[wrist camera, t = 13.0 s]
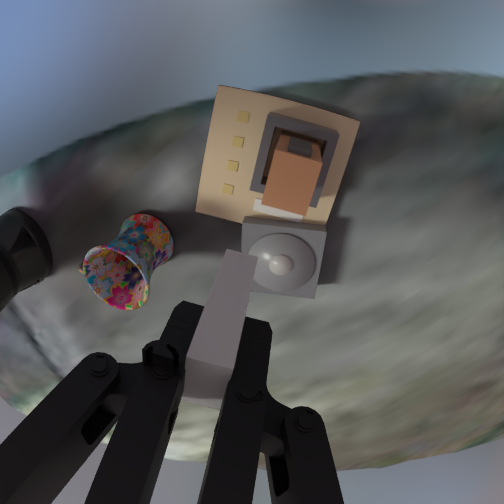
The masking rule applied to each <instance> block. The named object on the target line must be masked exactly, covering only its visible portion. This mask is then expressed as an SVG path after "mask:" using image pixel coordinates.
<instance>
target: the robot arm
mask: <svg viewBox="0 0 504 504" xmlns="http://www.w3.org/2000/svg"><path fill="white" fill-rule="evenodd" d="M257 260H258V257H257V256H253V255H249V254H245V253H241V252H237V251H233V250H230V249H226V252H225V254H224V257H223V260H222V262H221V265H220V267H219V270H218V273H217V275H216V278H215V280H214V283H213V286H212V288H211V291H210V294H209V296H208V299H207V302H206V304H205V306H201V305H197V304H194V303H190V302H187V301H182V302H181V303H180V304H178V305H177V306H176V307H175V308H174V310H173V312H172V314H171V316H170V318H169V320H168V322H167V325H166V327H165V329H164V331H163V333H162V335H161V337H160V339H159V340H155V341H152V342H150V343H148V344H146V345H145V347H144V348H143V349H142V356H143V362H140V363H132V364H130V363H117V362H116V360H115V359H114V358H113V357H112V356H111V355H109V354H106V353H101V352H96V353H92V354H90V355H88V356H87V357H85V358H84V359H83V360H82V361H81V362H80V363H79V364H78V365H77V366H76V367H75V368H74V369H73V370H72V371H71V372H70V373H69V374H68V375H67V376H66V377H65V378H64V379H63V380H62V381H61V382H60V383H59V384H58V385H57V386H56V387H55V388H54V389H53V390H52V391H51V392H50V393H49V394H48V395H47V396H46V397H45V398H44V399H43V400H42V401H41V402H40V403H39V404H38V405H37V406H36V407H35V408H34V410H33V411H32V412H31V413H30V414H29V415H28V416H27V417H26V418H25V419H24V420H23V421H22V422H21V423H20V424H19V425H18V426H17V427H16V429H14V431H13V432H12V433H11V434H10V435H9V436H8V437H7V438H6V439H5V440H4V441H3V442H2V444H0V504H51V503H52V502H53V500H54V499H55V498H56V497H57V496H58V494H59V493H60V492H61V491H62V489H63V488H64V487H65V486H66V484H67V483H68V482H69V481H70V479H71V478H72V477H73V476H74V474H75V473H76V472H77V471H78V469H79V468H80V467H81V466H82V465H83V463H84V462H85V461H86V460H87V458H88V457H89V456H90V455H91V453H92V452H93V451H94V450H95V448H96V447H97V446H98V444H99V443H100V442H101V441H102V440H103V438H104V437H105V436H106V435H107V433H108V432H109V431H110V430H111V429H112V427H113V426H114V425H115V424H116V422H117V421H118V422H117V424H116V427H115V429H114V431H113V434H112V436H111V438H110V441H109V443H108V446H107V448H106V451H105V453H104V455H103V458H102V460H101V463H100V465H99V468H98V470H97V473H96V475H95V478H94V480H93V483H92V485H91V488H90V490H89V493H88V496H87V498H86V501H85V504H150V500H151V497H152V494H153V490H154V487H155V484H156V481H157V478H158V474H159V471H160V468H161V464H162V461H163V458H164V455H165V452H166V449H167V446H168V442H169V439H170V436H171V433H172V430H173V427H174V424H175V420H176V417H177V414H178V407H179V403H180V400H184V401H187V402H191V403H194V404H198V405H202V406H205V407H209V408H213V409H217V410H220V413H219V417H218V420H217V424H216V427H215V430H214V436H213V440H212V444H211V449H210V453H209V457H208V461H207V465H206V469H205V473H204V478H203V482H202V486H201V490H200V494H199V498H198V502H197V504H252V500H253V493H254V487H255V480H256V474H257V467H258V460H259V454H260V452H262V453H264V454H265V461H266V468H267V475H268V482H269V489H270V495H271V502H272V504H344V501H343V497H342V493H341V489H340V485H339V481H338V477H337V473H336V469H335V465H334V461H333V457H332V453H331V449H330V445H329V441H328V437H327V433H326V429H325V425H324V422H323V420H322V418H321V415H319V414H318V413H317V412H316V411H315V410H313V409H311V408H309V407H304V406H299V407H295V408H293V409H291V408H289V407H287V406H285V405H283V404H281V403H279V402H278V401H276V400H275V399H274V398H273V397H272V396H271V395H270V393H269V392H268V389H267V385H266V381H267V373H268V365H269V357H270V349H271V341H272V333H273V332H272V330H271V327H270V325H269V322H266V321H261V320H257V319H253V318H249V317H245V315H246V311H247V306H248V301H249V297H250V292H251V288H252V283H253V279H254V274H255V269H256V265H257ZM51 268H52V255H51V251H50V247H49V244H48V242H47V240H46V238H45V236H44V234H43V232H42V231H41V229H40V228H39V226H38V225H37V224H36V223H35V222H34V220H33V219H32V218H30V217H29V216H28V215H27V214H25V213H24V212H22V211H19V210H14V209H13V210H8V211H7V212H5V213H4V214H2V215H1V216H0V312H1V311H2V310H3V308H4V307H5V306H6V305H7V304H8V303H9V302H10V301H11V300H12V298H13V297H14V296H15V295H16V294H17V293H18V292H20V291H23V290H25V289H27V288H29V287H31V286H33V285H36V284H38V283H40V282H41V281H43V280H44V278H45V277H46V276H47V275H48V274H49V273H50V271H51ZM181 397H182V399H181Z"/></svg>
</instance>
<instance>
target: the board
mask: <svg viewBox="0 0 504 504" xmlns="http://www.w3.org/2000/svg"><path fill="white" fill-rule="evenodd" d="M359 125H360V122H359V121H358V120H355V119H352V118H349V117H346V116H343V115H340V114H336V113H333V112H330V111H327V110H323V109H320V108H317V107H313V106H310V105H306V104H303V103H299V102H295V101H291V100H288V99H284V98H280V97H276V96H271V95H267V94H263V93H258V92H254V91H249V90H244V89H240V88H235V87H229V86H224V85H218V88H217V93H216V98H215V103H214V108H213V113H212V118H211V123H210V129H209V134H208V139H207V145H206V150H205V156H204V162H203V167H202V173H201V179H200V185H199V191H198V198H197V204H196V211H195V212H199V213H203V214H207V215H211V216H215V217H218V218H222V219H226V220H230V221H234V222H238V223H241V224H242V222H243V219H244V217H255V218H265V219H274V220H284V221H293V222H298V223H301V222H302V223H310V224H319V225H326V223H327V220H328V217H329V214H330V212H331V209H332V206H333V203H334V200H335V197H336V195H337V192H338V189H339V186H340V183H341V180H342V177H343V174H344V171H345V168H346V165H347V162H348V159H349V156H350V153H351V150H352V147H353V144H354V141H355V138H356V134H357V131H358V128H359ZM282 130H283V131H286V132H290V133H294V134H297V135H301V136H304V137H308V138H311V139H315V140H317V142H318V146H319V150H320V154H321V158H322V162H323V164H322V167H321V170H320V173H319V176H318V180H317V183H316V186H315V189H314V192H313V195H312V198H311V201H310V204H309V208H308V211H307V214H306V216H302V215H299V214H295V213H291V212H288V211H284V210H280V209H277V208H273V207H269V206H266V205H262V204H261V202H262V198H263V194H264V190H265V186H266V183H267V179H268V175H269V171H270V167H271V163H272V159H273V155H274V152H275V148H276V146H277V143H278V140H279V137H280V135H281V132H282Z"/></svg>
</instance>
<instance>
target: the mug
mask: <svg viewBox="0 0 504 504" xmlns="http://www.w3.org/2000/svg"><path fill="white" fill-rule="evenodd" d="M172 253H173V239H172V236H171V234H170V232H169V230H168V229H167V227H166V226H165V225H164V224H163V223H162V222H161V221H160V220H158V219H157V218H155V217H153V216H151V215H148V214H134V215H132V216H130V217H128V218H127V219H126V220H125V221H124V222H123V224H122V226H121V229H120V234H119V235H118V237H117V238H116V239H114V240H113V241H112V242H110V243H108V244H105V245H100V246H96V247H94V248H92V249H91V250H90V251H89V252H88V253H87V254H86V256H85V258H84V261H83V262H82V263H81V264H80V265H79V271H80V272H81V273H82V274H84V275H85V278H86V280H87V282H88V284H89V286H90V288H91V289H92V290H93V292H94V293H95V294H96V295H97V296H98V297H99V298H100V299H102V300H103V301H104V302H106V303H107V304H109V305H111V306H113V307H116V308H119V309H123V310H134V309H137V308H139V307H141V306H142V305H144V304H145V302H146V301H147V299H148V297H149V293H150V279H151V275H152V273H153V271H154V270H155V268H156V267H158V266H160V265H163V264H164V263H166V262H167V261H168V260H169V259H170V257H171V255H172Z"/></svg>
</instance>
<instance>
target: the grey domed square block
mask: <svg viewBox="0 0 504 504" xmlns="http://www.w3.org/2000/svg"><path fill="white" fill-rule="evenodd" d="M326 234H327V229H326V225H319V224H310V223H302V222H301V223H298V222H293V221H284V220H274V219H265V218H255V217H244V219H243V222H242V242H241V253H245V254H249V255H253V256H257V257H258V260H257V265H256V269H255V274H254V279H253V283H252V288H251V292H259V293H268V294H276V295H285V296H293V297H303V298H312V299H314V298H315V293H316V288H317V283H318V278H319V273H320V268H321V262H322V257H323V251H324V246H325V240H326Z"/></svg>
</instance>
